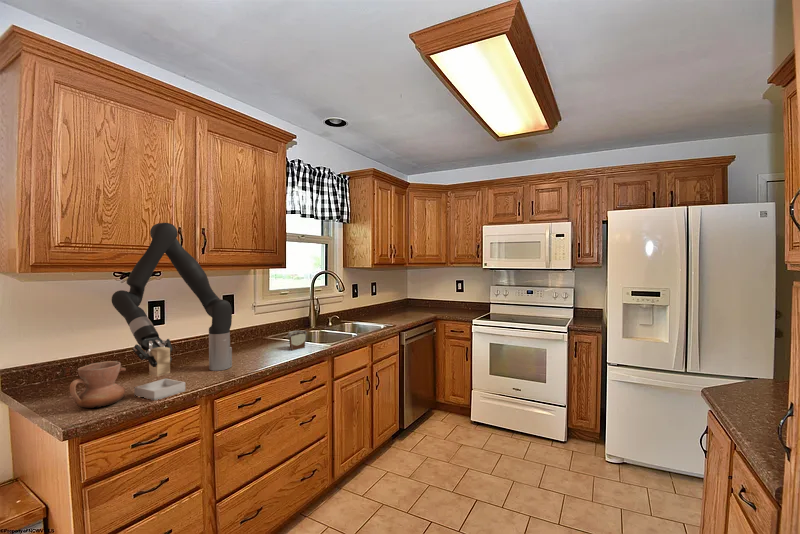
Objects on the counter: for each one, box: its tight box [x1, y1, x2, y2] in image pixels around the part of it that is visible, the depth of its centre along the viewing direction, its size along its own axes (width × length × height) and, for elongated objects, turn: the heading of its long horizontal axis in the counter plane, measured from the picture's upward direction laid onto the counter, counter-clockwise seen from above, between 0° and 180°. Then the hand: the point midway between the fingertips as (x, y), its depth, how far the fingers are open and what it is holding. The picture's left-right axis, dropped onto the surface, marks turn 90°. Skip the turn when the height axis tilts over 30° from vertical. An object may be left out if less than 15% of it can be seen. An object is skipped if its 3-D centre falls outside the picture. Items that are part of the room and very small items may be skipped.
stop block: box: [148, 347, 171, 378], centre depth 152 cm, size 5×5×10 cm
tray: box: [134, 378, 186, 402], centre depth 152 cm, size 12×12×4 cm
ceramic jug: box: [69, 360, 127, 409], centre depth 140 cm, size 18×14×14 cm
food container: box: [287, 330, 308, 352], centre depth 230 cm, size 12×6×10 cm, turn 144°
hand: (162, 363), depth 151 cm, fingers closed on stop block, 5 cm apart
